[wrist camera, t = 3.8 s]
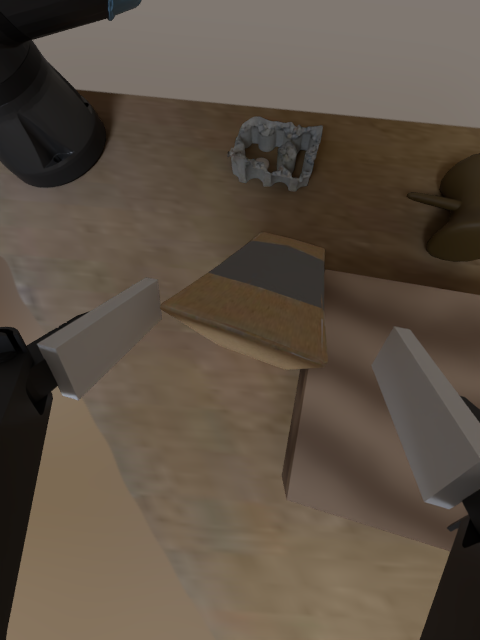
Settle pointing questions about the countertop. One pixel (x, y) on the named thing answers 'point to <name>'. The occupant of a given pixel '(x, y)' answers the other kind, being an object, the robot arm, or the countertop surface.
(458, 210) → the kendama
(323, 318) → the sandwich container
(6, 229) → the countertop surface
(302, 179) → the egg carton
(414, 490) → the walnut shelf
